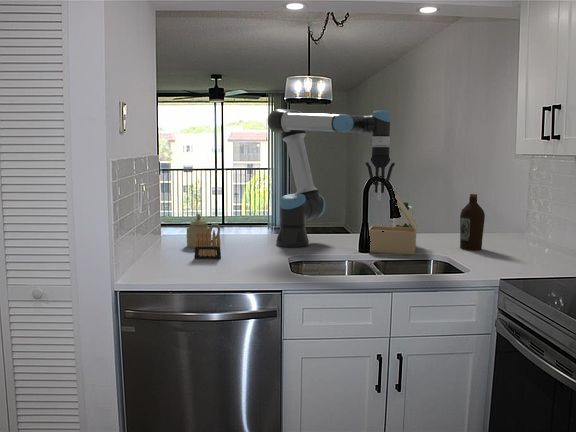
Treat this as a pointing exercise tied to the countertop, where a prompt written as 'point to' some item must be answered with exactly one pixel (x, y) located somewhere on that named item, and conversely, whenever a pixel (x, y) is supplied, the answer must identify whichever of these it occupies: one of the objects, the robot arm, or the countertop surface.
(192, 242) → the sugar bowl
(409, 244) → the carton
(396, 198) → the carton flap
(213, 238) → the ammunition clip
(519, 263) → the countertop surface
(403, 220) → the milk carton
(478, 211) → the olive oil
